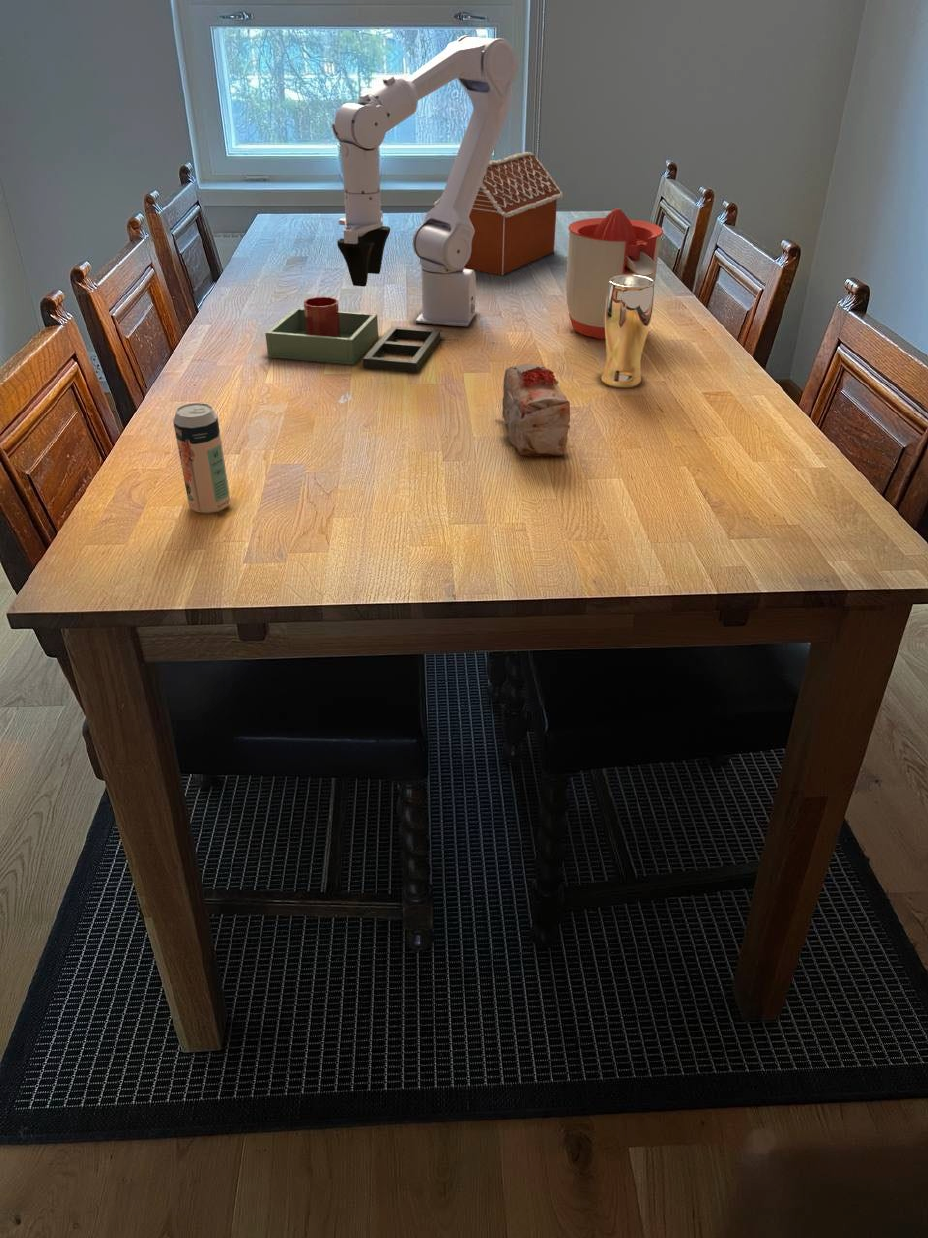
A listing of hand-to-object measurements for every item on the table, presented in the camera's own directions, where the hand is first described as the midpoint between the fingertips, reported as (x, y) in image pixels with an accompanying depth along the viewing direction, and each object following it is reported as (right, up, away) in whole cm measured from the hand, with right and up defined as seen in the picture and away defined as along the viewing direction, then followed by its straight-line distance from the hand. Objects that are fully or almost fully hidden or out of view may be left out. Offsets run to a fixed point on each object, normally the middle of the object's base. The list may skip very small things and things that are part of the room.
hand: (366, 279), depth 152 cm
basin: (-7, -11, 0) cm, 13 cm away
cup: (-7, -11, 0) cm, 13 cm away
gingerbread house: (+24, +22, +48) cm, 58 cm away
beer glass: (+41, -20, -11) cm, 46 cm away
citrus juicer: (+42, -6, +8) cm, 43 cm away
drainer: (+6, -13, -1) cm, 14 cm away
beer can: (-14, -43, -45) cm, 64 cm away
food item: (+25, -33, -29) cm, 50 cm away
